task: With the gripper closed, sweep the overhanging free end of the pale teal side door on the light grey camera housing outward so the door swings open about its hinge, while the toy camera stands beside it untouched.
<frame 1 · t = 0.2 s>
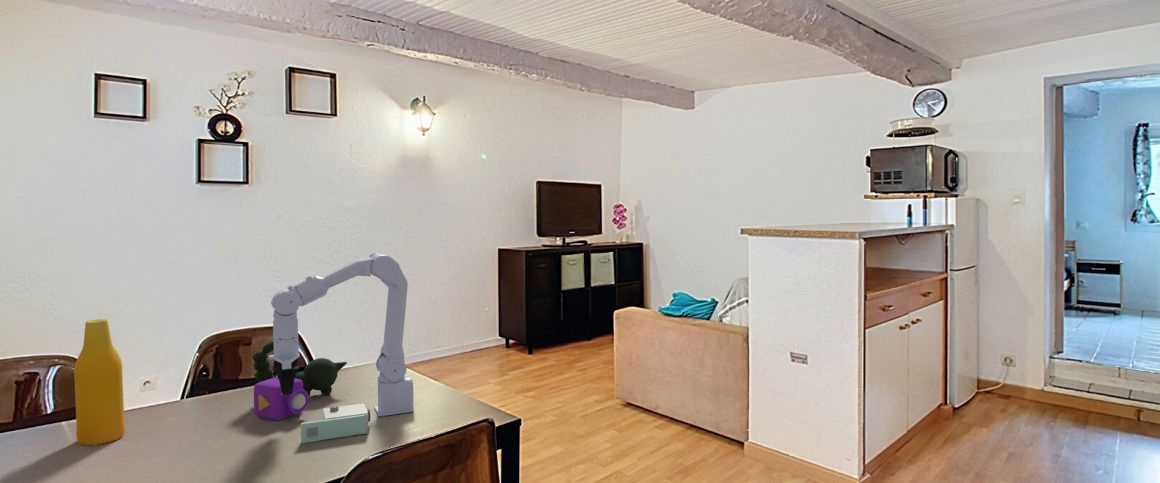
hand: (287, 389, 158), 10 cm above the table, tool pointing down, fingers open, 7 cm apart
toy figurine: (302, 398, 182), on the table
toy camera: (284, 416, 167), on the table
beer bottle: (101, 439, 149), on the table
camera housing: (345, 429, 157), on the table
side door: (335, 428, 151), point 2 cm above the table, hinge at 0.0°
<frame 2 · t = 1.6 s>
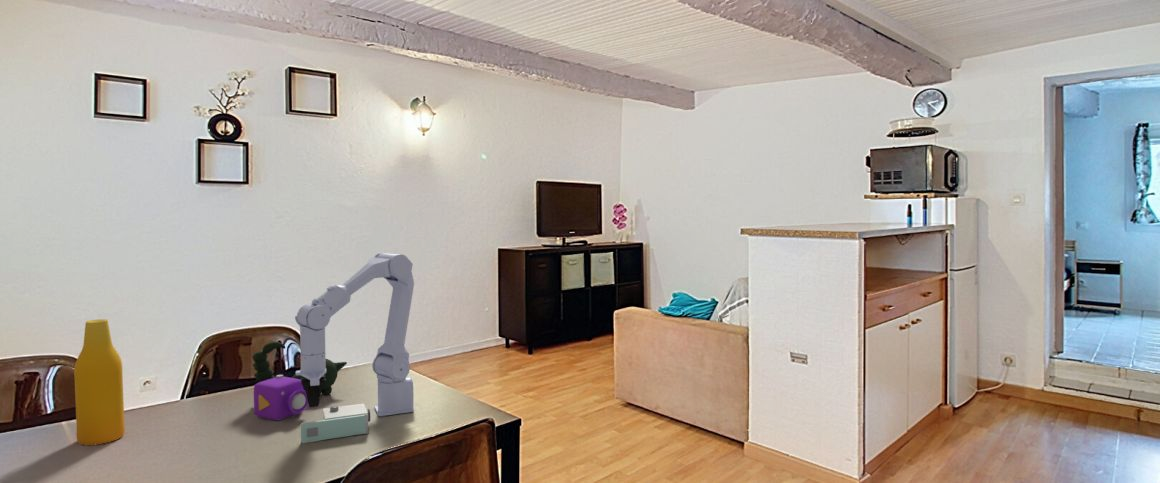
hand: (313, 406, 154), 7 cm above the table, tool pointing down, fingers closed
nothing on the table moved.
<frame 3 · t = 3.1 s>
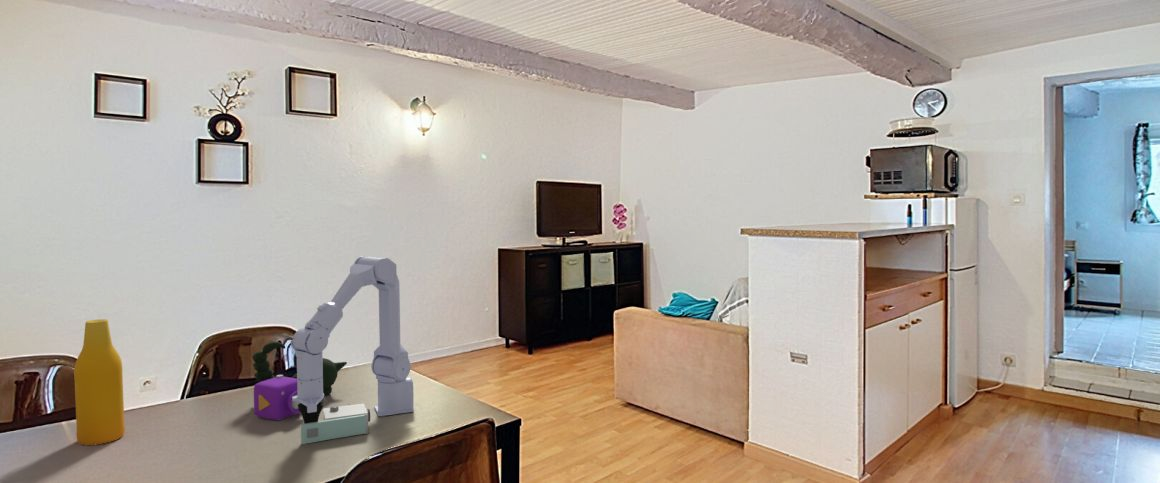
hand: (311, 432, 150), 2 cm above the table, tool pointing down, fingers closed
side door: (335, 428, 151), point 2 cm above the table, hinge at 2.3°, touching gripper
everything else where it was.
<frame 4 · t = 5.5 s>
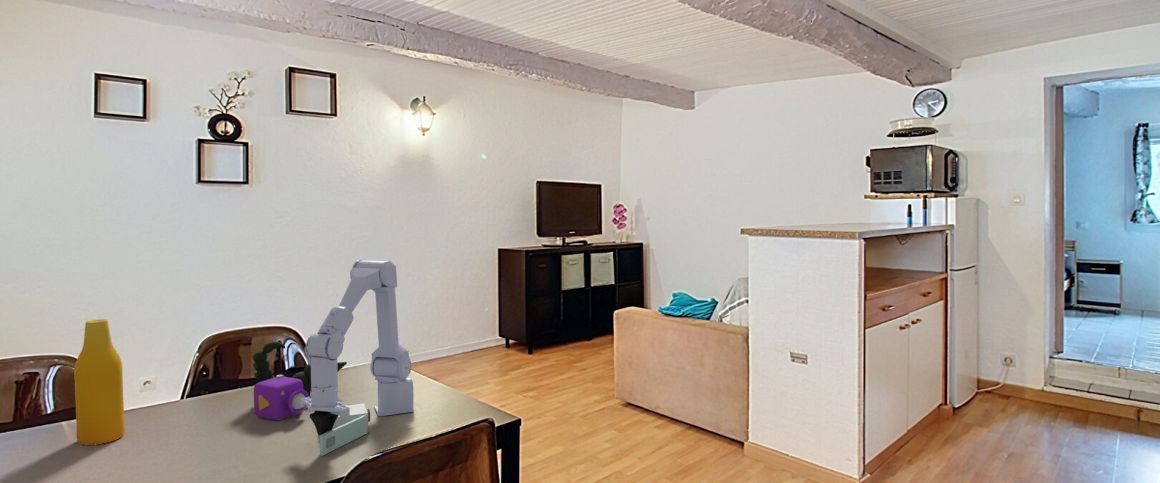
hand: (325, 441, 144), 2 cm above the table, tool pointing down, fingers closed
side door: (345, 433, 148), point 2 cm above the table, hinge at 41.9°, touching gripper
everything else where it was.
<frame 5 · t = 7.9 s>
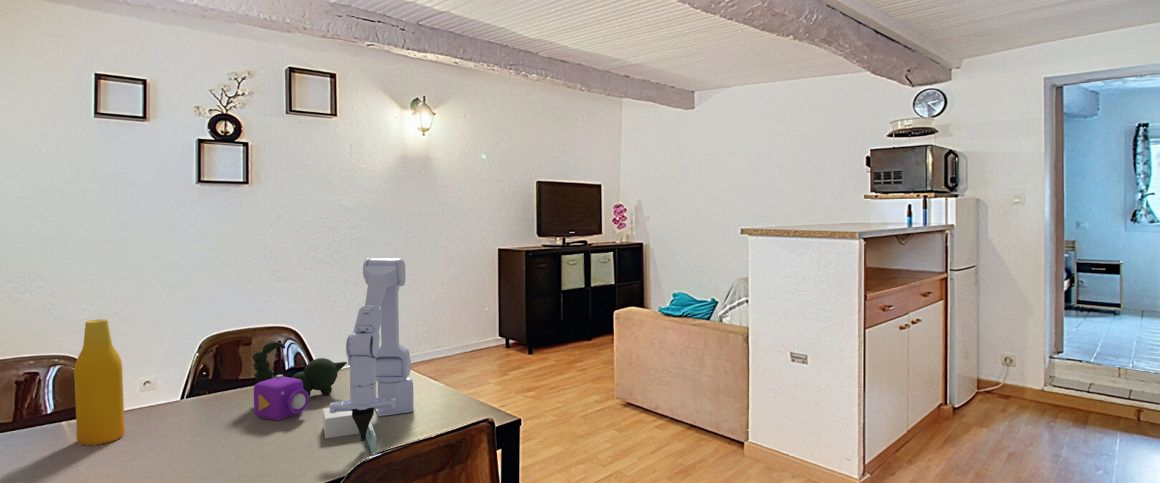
hand: (363, 439, 145), 2 cm above the table, tool pointing down, fingers closed
side door: (370, 433, 148), point 2 cm above the table, hinge at 89.3°, touching gripper
everything else where it was.
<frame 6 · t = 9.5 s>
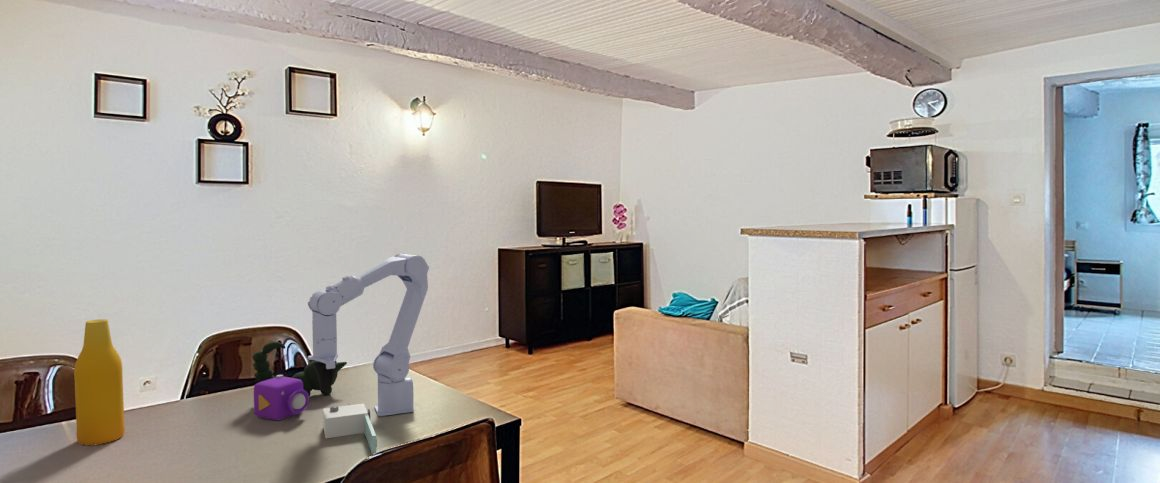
hand: (325, 389, 158), 10 cm above the table, tool pointing down, fingers closed
side door: (370, 433, 148), point 2 cm above the table, hinge at 89.5°
everything else where it was.
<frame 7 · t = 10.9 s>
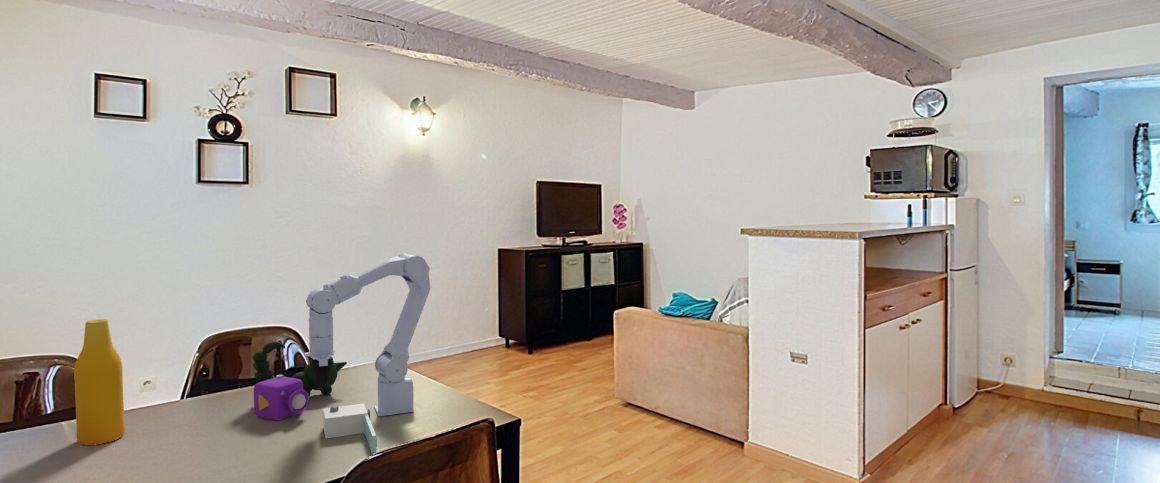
hand: (322, 386, 160), 10 cm above the table, tool pointing down, fingers closed
nothing on the table moved.
at the end: side door at +90° (first picture: +0°); toy camera moved 0.3 cm from its start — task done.
